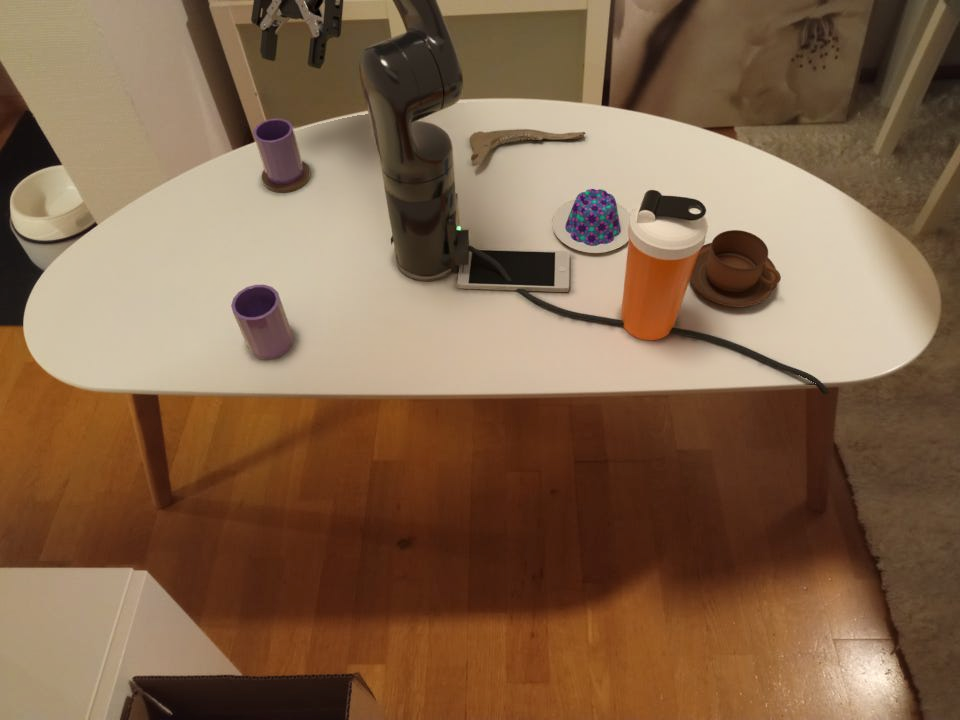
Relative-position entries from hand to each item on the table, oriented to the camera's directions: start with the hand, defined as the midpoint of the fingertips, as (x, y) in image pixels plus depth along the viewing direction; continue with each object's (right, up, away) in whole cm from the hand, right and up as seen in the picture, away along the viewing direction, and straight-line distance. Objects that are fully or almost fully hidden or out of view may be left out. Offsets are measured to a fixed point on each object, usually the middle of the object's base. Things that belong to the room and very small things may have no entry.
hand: (291, 63), depth 109 cm
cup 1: (-4, -13, +13) cm, 18 cm away
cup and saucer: (+61, -32, -4) cm, 69 cm away
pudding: (+44, -23, +4) cm, 50 cm away
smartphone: (+32, -30, -1) cm, 44 cm away
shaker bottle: (+49, -37, -7) cm, 62 cm away
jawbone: (+35, -9, +15) cm, 39 cm away
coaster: (-4, -13, +13) cm, 19 cm away
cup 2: (-1, -40, -8) cm, 41 cm away
